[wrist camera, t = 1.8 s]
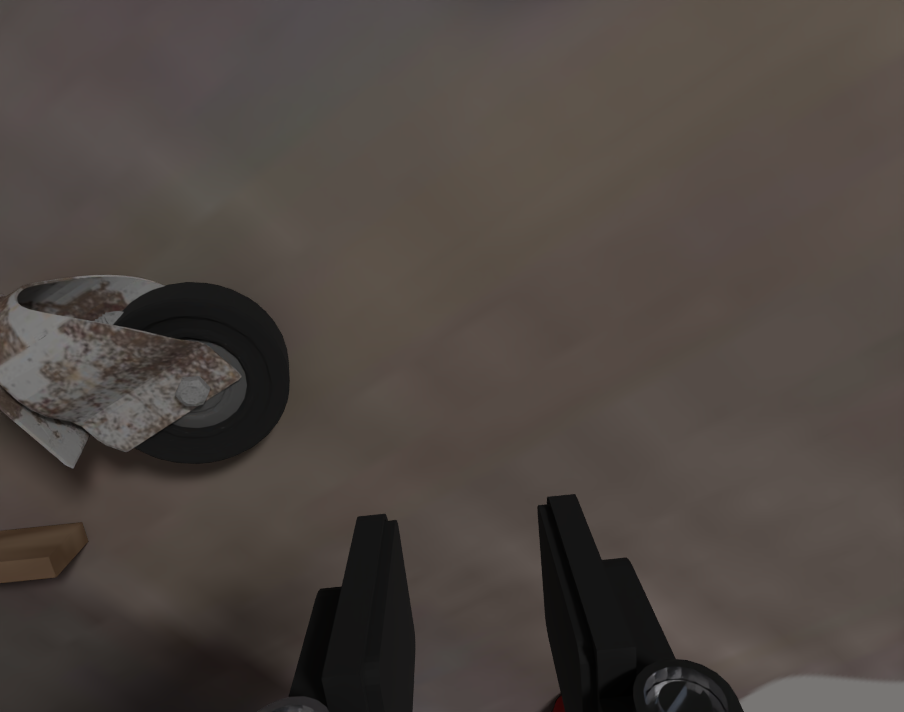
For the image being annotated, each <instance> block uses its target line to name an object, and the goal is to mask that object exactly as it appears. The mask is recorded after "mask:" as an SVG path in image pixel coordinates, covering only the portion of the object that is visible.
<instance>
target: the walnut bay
mask: <svg viewBox="0 0 904 712" xmlns="http://www.w3.org/2000/svg"><path fill="white" fill-rule="evenodd" d="M87 542H88V539H87V536H86V533H85V530H84V527H83V524H82V522H81V523H71V524H61V525H52V526H42V527H33V528H23V529H13V530H4V531H0V583H6V582H15V581H25V580H35V579H45V578H54V577H57V576H58V575H59V574H60V573H61V571H62V570H63V569H64V568H65V567H66V566H67V565H68V564H69V562H70V561H71V560H72V559H73V558H74V557H75V556H76V555H77V554H78V552H79V551H80V550H81V549H82V548H83V547H84V546H85V545H86V543H87Z"/></svg>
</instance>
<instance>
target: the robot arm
mask: <svg viewBox="0 0 904 712" xmlns="http://www.w3.org/2000/svg"><path fill="white" fill-rule="evenodd" d="M538 524H539V537H540V551H541V565H542V579H543V593H544V607H545V619H546V627H547V633H548V638H549V642H550V647H551V651H552V656H553V660H554V664H555V669H556V673H557V678H558V682H559V687H560V691H561V696H562V700H563V705H564V709H565V712H744V711H743V709H742V707H741V705H740V702H739V700H738V698H737V696H736V694H735V693H734V691H733V690H732V688H731V687H730V685H729V684H728V683H727V682H726V681H725V680H724V679H723V678H722V677H721V676H719V675H718V674H717V673H716V672H714V671H712V670H710V669H709V668H707V667H705V666H703V665H701V664H698V663H694V662H691V661H688V660H679V659H675V656H674V654H673V652H672V650H671V648H670V646H669V644H668V641H667V639H666V637H665V635H664V633H663V631H662V628H661V626H660V624H659V622H658V620H657V618H656V616H655V613H654V611H653V609H652V607H651V605H650V603H649V601H648V598H647V596H646V594H645V592H644V590H643V588H642V585H641V583H640V581H639V579H638V577H637V575H636V573H635V570H634V568H633V566H632V564H631V562H630V561H629V559H627V558H617V559H608V560H601V557H600V554H599V552H598V549H597V547H596V544H595V542H594V539H593V537H592V534H591V532H590V529H589V527H588V524H587V522H586V519H585V517H584V514H583V512H582V509H581V507H580V504H579V502H578V499H577V497H576V495H575V494H571V495H561V496H552V497H547V505H538ZM414 667H415V631H414V624H413V618H412V611H411V605H410V598H409V592H408V586H407V579H406V573H405V566H404V560H403V553H402V547H401V540H400V534H399V527H398V523H397V520H392V521H388V519H387V516H386V514H378V515H368V516H359V517H357V520H356V525H355V529H354V534H353V538H352V543H351V547H350V552H349V556H348V561H347V565H346V570H345V574H344V579H343V583H342V587H333V588H323V589H320V590H319V591H318V593H317V596H316V599H315V603H314V607H313V610H312V614H311V617H310V621H309V625H308V628H307V632H306V636H305V639H304V643H303V647H302V650H301V654H300V657H299V661H298V665H297V668H296V672H295V676H294V679H293V683H292V687H291V690H290V694H289V697H288V698H284V699H281V700H277V701H275V702H273V703H271V704H269V705H267V706H265V707H264V708H262V709H260V710H259V711H258V712H412V709H413V688H414Z"/></svg>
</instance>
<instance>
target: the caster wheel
mask: <svg viewBox="0 0 904 712" xmlns="http://www.w3.org/2000/svg"><path fill="white" fill-rule="evenodd" d="M289 381H290V380H289V360H288V354H287V348H286V345H285V342H284V339H283V336H282V334H281V332H280V331H279V329H278V327H277V325H276V324H275V322H274V321H273V319H272V318H271V317H270V316H269V315H268V314H267V313H266V311H265V310H263V309H262V308H261V307H260V306H259V305H258V304H257V303H255V302H254V301H252V300H251V299H249V298H248V297H246V296H244V295H242V294H240V293H238V292H236V291H234V290H232V289H228V288H225V287H222V286H219V285H214V284H208V283H194V282H185V283H178V284H170V285H166V286H164V285H161V284H159V283H156V282H154V281H151V280H146V279H142V278H138V277H130V276H120V275H90V276H78V277H69V278H62V279H55V280H48V281H42V282H36V283H31V284H27V285H24V286H22V287H20V288H19V289H17V290H15V291H14V292H12V293H11V294H9V295H8V296H4V295H0V410H1V411H2V412H3V413H4V414H6V415H7V416H8V417H9V418H10V419H12V420H13V421H14V422H15V423H16V424H17V425H19V426H20V427H21V428H22V429H23V430H25V431H26V432H27V433H28V434H29V435H30V436H32V437H33V438H34V439H35V440H36V441H38V442H39V443H40V444H41V445H42V446H43V447H45V448H46V449H47V450H48V451H49V452H51V453H52V454H53V455H54V456H55V457H56V458H58V459H59V460H60V461H61V462H62V463H64V464H65V465H66V466H68V467H70V468H73V469H74V467H75V465H76V463H77V461H78V459H79V457H80V455H81V453H82V451H83V448H84V446H85V444H86V442H87V440H88V438H89V436H90V434H91V435H92V436H93V437H94V438H96V439H97V440H98V441H100V442H102V443H103V444H105V445H106V446H109V447H112V448H115V449H117V450H120V451H123V452H128V451H130V450H131V449H133V448H136V449H138V450H140V451H142V452H144V453H146V454H149V455H151V456H153V457H156V458H159V459H163V460H167V461H171V462H177V463H190V464H200V463H210V462H215V461H220V460H224V459H227V458H230V457H233V456H236V455H238V454H240V453H242V452H244V451H246V450H248V449H250V448H252V447H253V446H255V445H256V444H257V443H258V442H260V441H261V440H262V439H263V438H264V437H266V436H267V435H268V434H269V433H270V431H271V430H272V429H273V428H274V426H275V425H276V424H277V423H278V421H279V419H280V417H281V416H282V414H283V412H284V409H285V406H286V403H287V400H288V395H289Z"/></svg>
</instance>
